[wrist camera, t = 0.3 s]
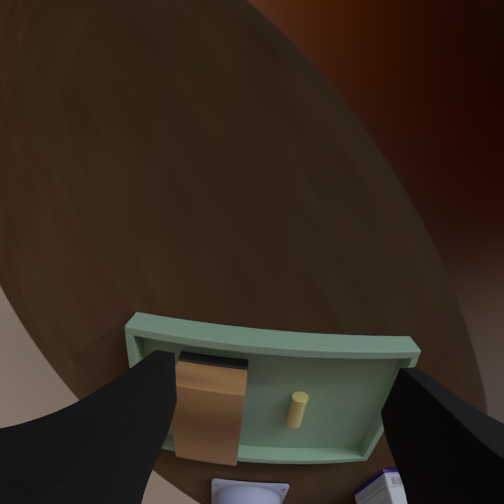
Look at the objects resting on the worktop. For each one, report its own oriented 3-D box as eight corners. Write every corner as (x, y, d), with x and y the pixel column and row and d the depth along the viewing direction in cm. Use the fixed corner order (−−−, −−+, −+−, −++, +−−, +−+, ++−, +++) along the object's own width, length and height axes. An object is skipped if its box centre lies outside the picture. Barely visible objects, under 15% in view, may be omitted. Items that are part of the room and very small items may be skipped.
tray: (361, 444, 22) (366, 460, 20) (151, 428, 22) (144, 444, 20) (409, 335, 19) (421, 350, 16) (136, 311, 19) (124, 325, 17)
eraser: (239, 434, 21) (236, 466, 17) (184, 426, 21) (175, 457, 17) (248, 359, 19) (245, 393, 15) (181, 350, 19) (167, 382, 15)
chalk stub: (298, 417, 20) (302, 428, 19) (283, 418, 20) (286, 429, 19) (306, 390, 19) (311, 401, 18) (290, 391, 19) (294, 402, 18)
